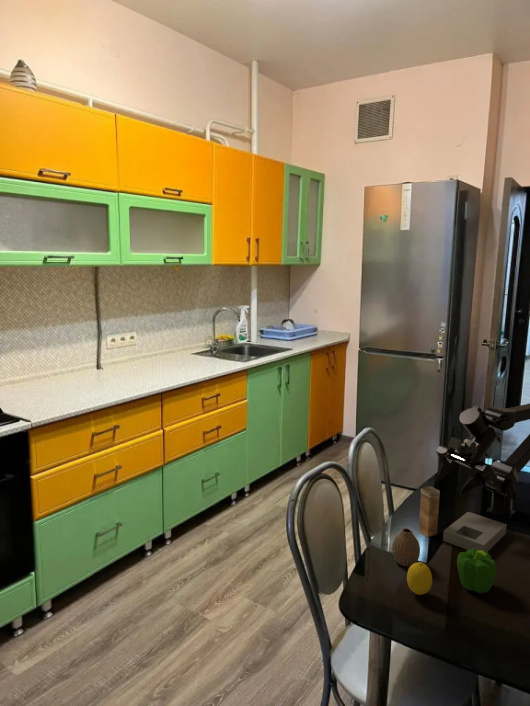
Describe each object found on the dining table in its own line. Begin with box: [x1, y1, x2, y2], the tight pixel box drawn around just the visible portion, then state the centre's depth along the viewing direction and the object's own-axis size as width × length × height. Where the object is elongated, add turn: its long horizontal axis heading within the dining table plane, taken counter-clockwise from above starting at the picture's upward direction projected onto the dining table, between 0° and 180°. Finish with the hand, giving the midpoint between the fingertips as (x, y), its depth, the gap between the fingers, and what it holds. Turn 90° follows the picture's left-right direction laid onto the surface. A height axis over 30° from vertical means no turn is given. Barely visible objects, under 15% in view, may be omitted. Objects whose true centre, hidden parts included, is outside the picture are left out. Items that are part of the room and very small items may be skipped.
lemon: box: [406, 561, 433, 596], centre depth 118 cm, size 6×6×8 cm
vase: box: [391, 527, 421, 568], centre depth 132 cm, size 7×7×9 cm
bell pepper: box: [456, 548, 497, 594], centre depth 121 cm, size 8×8×10 cm
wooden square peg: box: [418, 485, 441, 538], centre depth 146 cm, size 4×4×13 cm
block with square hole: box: [442, 511, 507, 553], centre depth 145 cm, size 16×11×3 cm
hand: (448, 486), depth 148 cm, fingers open, 9 cm apart
